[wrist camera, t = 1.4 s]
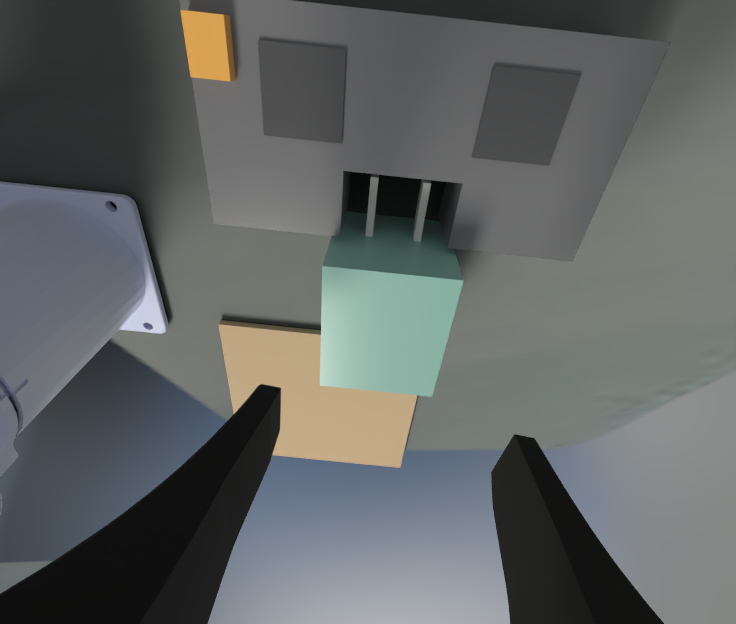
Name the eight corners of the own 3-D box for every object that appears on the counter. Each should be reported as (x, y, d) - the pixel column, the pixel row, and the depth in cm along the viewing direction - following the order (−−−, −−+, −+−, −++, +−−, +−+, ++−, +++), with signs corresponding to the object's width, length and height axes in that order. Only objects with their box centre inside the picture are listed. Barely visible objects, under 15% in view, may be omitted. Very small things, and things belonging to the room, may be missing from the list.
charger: (334, 313, 21) (319, 385, 17) (342, 156, 17) (323, 199, 12) (423, 322, 21) (431, 396, 17) (457, 168, 17) (481, 215, 12)
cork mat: (242, 447, 29) (240, 451, 28) (221, 320, 22) (218, 324, 22) (400, 462, 29) (400, 467, 29) (428, 341, 22) (429, 345, 22)
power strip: (242, 194, 18) (208, 228, 14) (223, -1, 14) (169, -15, 10) (543, 226, 18) (577, 267, 14) (612, 42, 14) (681, 42, 10)
